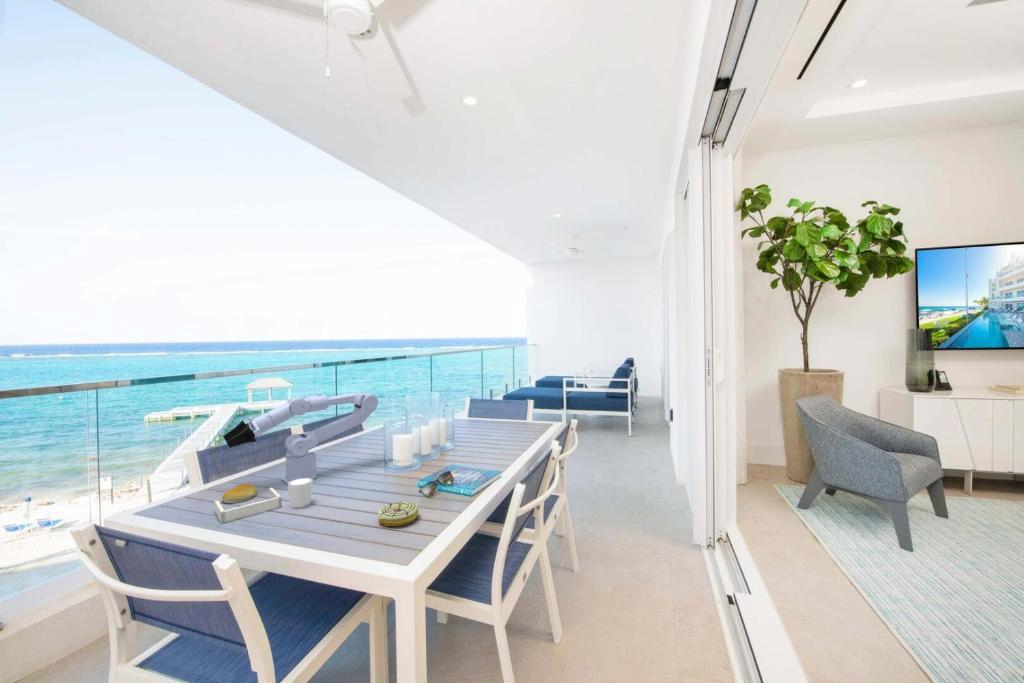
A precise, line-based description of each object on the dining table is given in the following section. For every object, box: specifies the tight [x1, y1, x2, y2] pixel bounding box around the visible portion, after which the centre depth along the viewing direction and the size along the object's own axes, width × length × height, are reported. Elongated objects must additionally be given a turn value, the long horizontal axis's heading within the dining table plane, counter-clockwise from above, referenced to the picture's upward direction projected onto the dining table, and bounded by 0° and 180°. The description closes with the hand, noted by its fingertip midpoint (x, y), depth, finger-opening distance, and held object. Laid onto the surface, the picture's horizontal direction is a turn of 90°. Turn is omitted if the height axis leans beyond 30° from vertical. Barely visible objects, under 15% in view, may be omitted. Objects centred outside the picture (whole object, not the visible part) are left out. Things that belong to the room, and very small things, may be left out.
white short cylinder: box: [287, 478, 314, 508], centre depth 116 cm, size 7×7×7 cm
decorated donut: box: [377, 501, 419, 527], centre depth 106 cm, size 10×11×4 cm
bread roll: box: [221, 483, 258, 504], centre depth 121 cm, size 8×9×4 cm
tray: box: [214, 487, 283, 524], centre depth 113 cm, size 15×11×3 cm
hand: (226, 441), depth 124 cm, fingers open, 7 cm apart
